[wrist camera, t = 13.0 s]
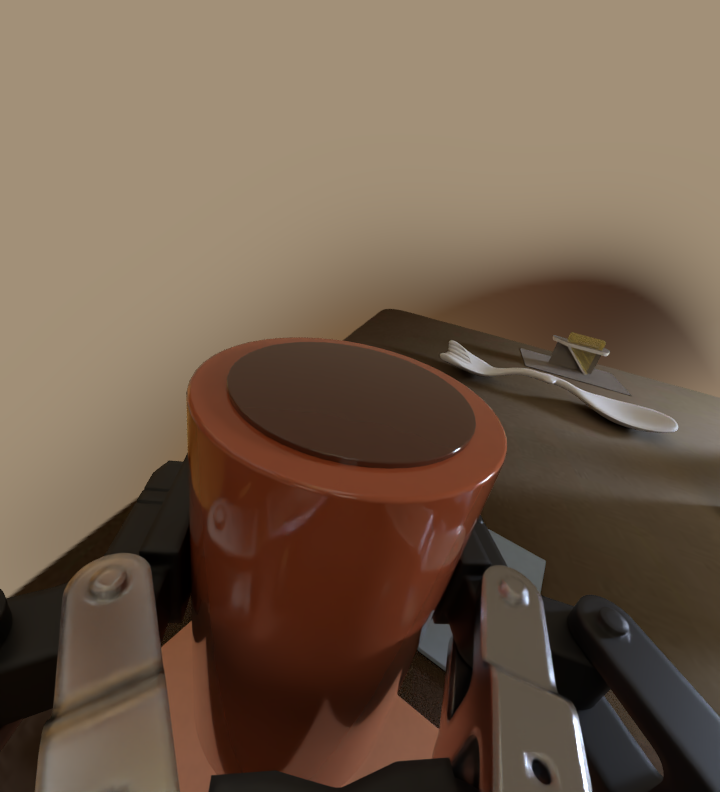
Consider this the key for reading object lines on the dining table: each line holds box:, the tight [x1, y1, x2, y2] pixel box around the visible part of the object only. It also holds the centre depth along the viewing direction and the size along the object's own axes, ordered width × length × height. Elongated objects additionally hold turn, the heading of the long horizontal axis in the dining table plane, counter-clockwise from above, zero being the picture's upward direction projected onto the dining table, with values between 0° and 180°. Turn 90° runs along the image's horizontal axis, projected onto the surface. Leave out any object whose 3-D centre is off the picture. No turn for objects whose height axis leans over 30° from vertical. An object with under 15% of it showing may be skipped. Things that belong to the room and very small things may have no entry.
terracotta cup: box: [186, 338, 507, 788], centre depth 9 cm, size 6×6×10 cm
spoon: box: [440, 340, 678, 433], centre depth 53 cm, size 9×32×4 cm, turn 68°
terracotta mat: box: [161, 621, 439, 792], centre depth 14 cm, size 9×13×1 cm
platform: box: [520, 333, 632, 396], centre depth 68 cm, size 12×18×7 cm, turn 72°
